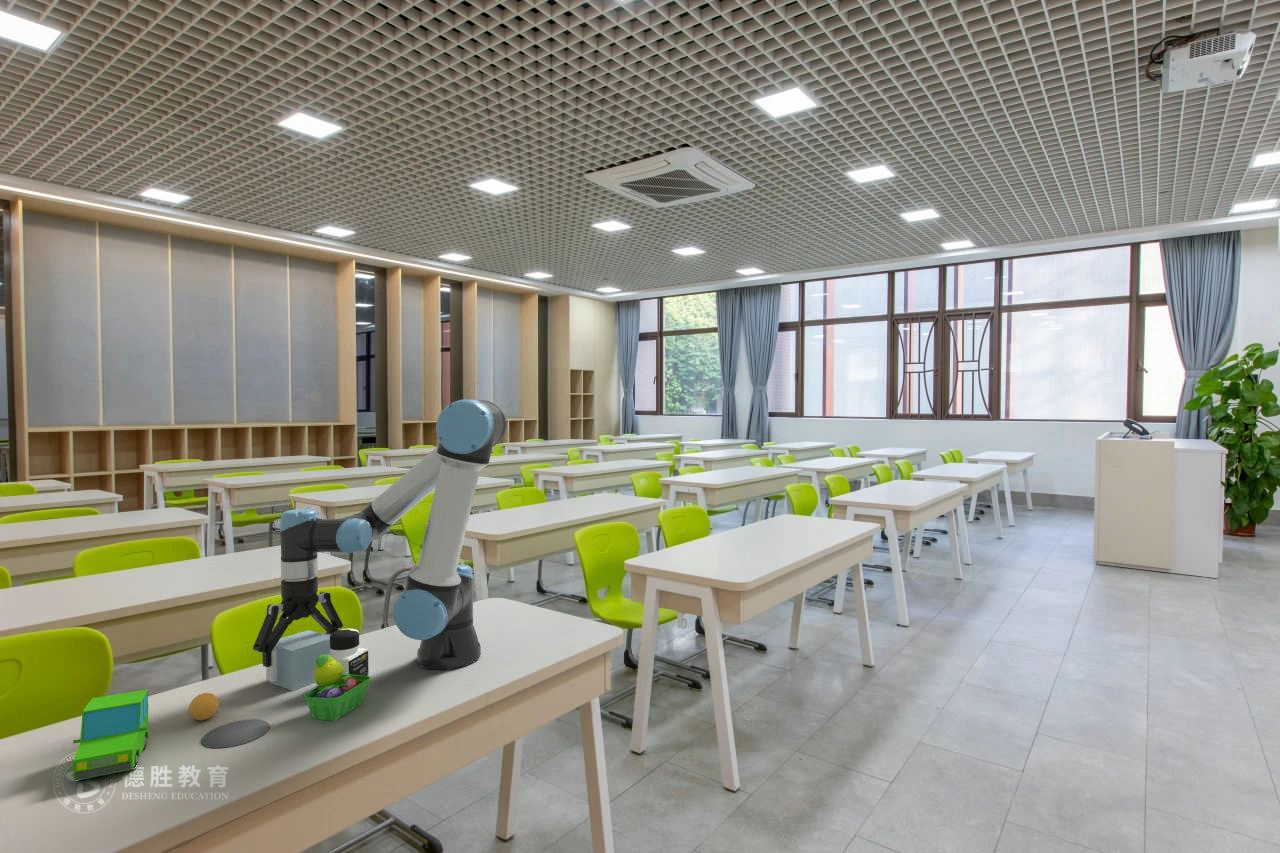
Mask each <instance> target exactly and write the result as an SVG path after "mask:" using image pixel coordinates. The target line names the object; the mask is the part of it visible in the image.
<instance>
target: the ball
mask: <svg viewBox="0 0 1280 853" xmlns="http://www.w3.org/2000/svg"><path fill="white" fill-rule="evenodd" d="M219 705H220V702H219V699H218V697H217V696H216V695H215V694H213V693H210V692H203V693H201V694H198V695H196V696H195V697H194V698H193V699H192V700H191V701H190V703H189V706H188V712H189V713H188V714H189V715H190V717H191V718H192V719H194V720H197V721H205V720H209V719H210V718H212V717H213V716H214V715H215V714H216V713H217V712H218V709H219Z"/></svg>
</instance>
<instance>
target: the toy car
mask: <svg viewBox="0 0 1280 853" xmlns="http://www.w3.org/2000/svg"><path fill="white" fill-rule="evenodd" d="M148 692H149V689H142V690H136V691H135V690H134V691H129V692H124V693H123V692H122V693H116V694H110V695H103V696H98V697H92V698H91V699H90V701H88V703H87V705H86V706H85V707H84V709H83V710H82V713H81V724H80V725H81V726H80V739H79V738H78V739H74V740H72V743H73V744H79V745H78V747H77V750H76V752H75V754H74V757H73V759H72V768H73V769H72V772H73V776H72V777H73V782H78V781H77V780H81V781H83V780H82V779H85V780H87V779H92V778H96V777H102V776H106V775H111V774H116V773H121V772H125V771H128V770H129V771H132V770H131V769H133V768H135V767H136V765H137V763H138V764H139V758H140V757H141V755H142V753H143V751H145V750H146V747H147V740H148V739H149V737H150V736H149V734H150V733H149V732H150V731H149V728H150V727H149V693H148ZM137 766H138V765H137Z"/></svg>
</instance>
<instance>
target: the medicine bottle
mask: <svg viewBox="0 0 1280 853" xmlns="http://www.w3.org/2000/svg"><path fill="white" fill-rule="evenodd" d="M330 652H331V653H329V654H327V655H328V656H331V657H332V658H333V659H335V660H336V661H338V662H339V663H340V664H341V665H342V666H343V669H344V671H343V674H351V675H360V676H369V671H370V670H369V649H368V648H363V647H360V632H359V630H358V629H355V628H340V629H338V631H335V632H333V633H332V634H331V635H330ZM369 677H370V676H369Z"/></svg>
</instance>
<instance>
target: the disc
mask: <svg viewBox="0 0 1280 853" xmlns="http://www.w3.org/2000/svg"><path fill="white" fill-rule="evenodd" d="M270 726H271V725H270V723H269V722H268V721H266V720H264V719H254V718H253V719H249V718H248V719H241V720H237V721H231V722H227V723H225V724H222V725H220V726H217V727H215V728H214V729H211V730H209V731H208V732H207V733H205V734H204V735H203V736H202V738H201V743H202V745H203V746H204V747H206V748H211V749H226V748H232V747H238V746H241V745H245V744H248V743H251V742H253V741H255V740H257V739H260V738H261V737H262V736H264V735H265V734H266V733H267V732H268V731H269V730H270Z"/></svg>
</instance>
